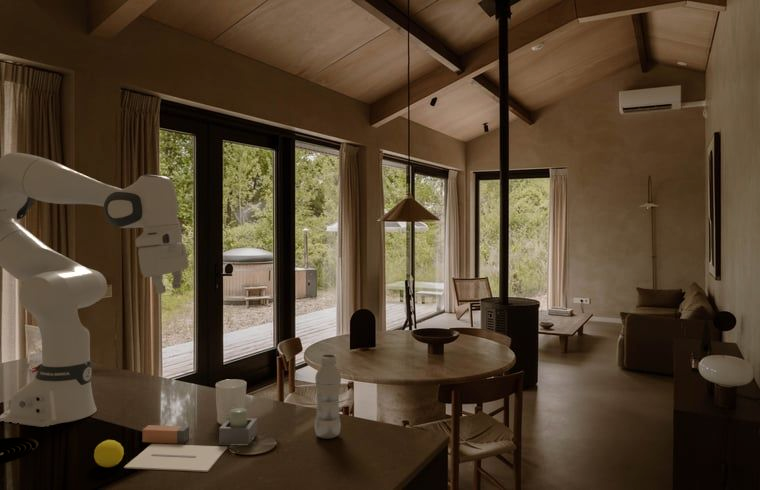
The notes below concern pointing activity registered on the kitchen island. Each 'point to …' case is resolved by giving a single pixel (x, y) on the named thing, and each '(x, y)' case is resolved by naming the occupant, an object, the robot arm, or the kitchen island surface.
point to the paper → (177, 457)
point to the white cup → (229, 397)
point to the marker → (165, 434)
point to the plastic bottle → (327, 398)
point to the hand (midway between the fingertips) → (169, 290)
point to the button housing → (237, 433)
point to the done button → (238, 417)
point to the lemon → (108, 453)
